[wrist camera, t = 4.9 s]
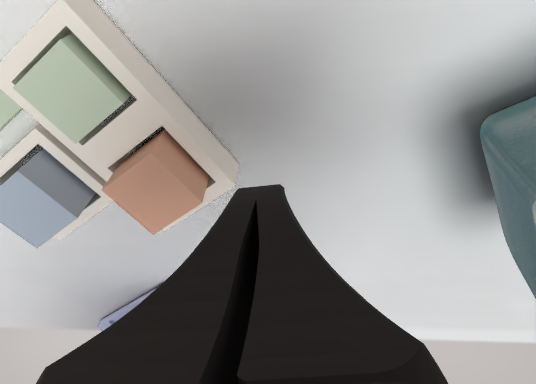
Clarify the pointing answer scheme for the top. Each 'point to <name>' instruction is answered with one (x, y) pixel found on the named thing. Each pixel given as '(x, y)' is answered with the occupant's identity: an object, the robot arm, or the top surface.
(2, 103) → the sage swatch
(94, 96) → the sage button
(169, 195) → the orange-brown cube
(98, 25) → the button strip
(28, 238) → the blue-grey cube
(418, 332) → the top surface
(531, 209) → the flower pot
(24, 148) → the side socket
